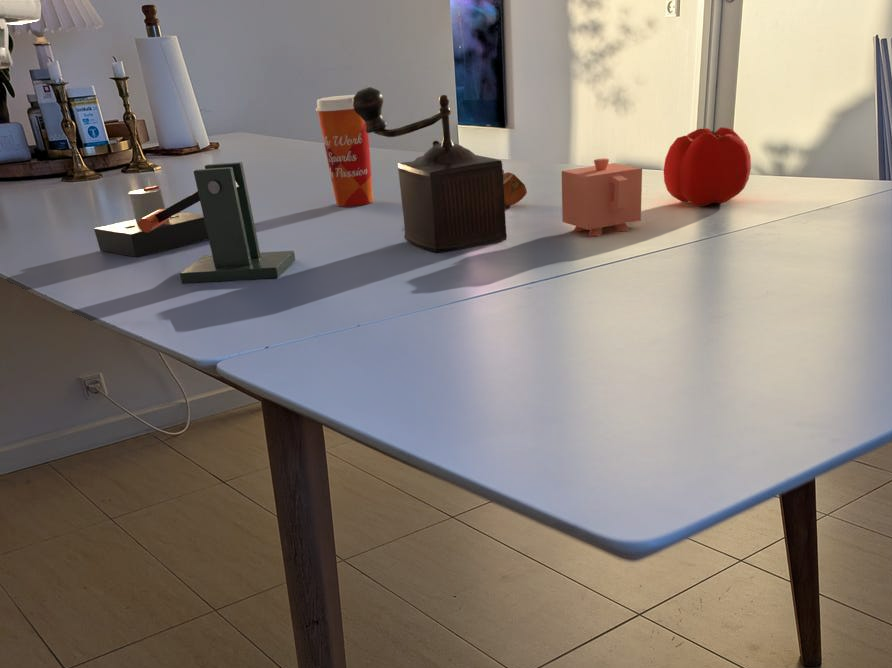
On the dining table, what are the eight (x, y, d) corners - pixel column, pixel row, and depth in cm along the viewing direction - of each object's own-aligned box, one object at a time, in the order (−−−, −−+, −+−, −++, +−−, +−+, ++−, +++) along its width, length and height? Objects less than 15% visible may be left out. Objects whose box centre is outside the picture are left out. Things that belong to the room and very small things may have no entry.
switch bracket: (181, 283, 111) (155, 175, 104) (205, 265, 118) (182, 164, 111) (277, 277, 110) (257, 168, 103) (295, 260, 117) (277, 157, 110)
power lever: (146, 238, 110) (133, 218, 108) (163, 227, 114) (152, 208, 113) (229, 192, 106) (217, 171, 105) (244, 183, 111) (233, 163, 110)
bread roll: (535, 207, 135) (534, 170, 132) (492, 213, 133) (490, 176, 131) (515, 199, 142) (513, 163, 139) (474, 205, 140) (471, 169, 137)
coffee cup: (321, 208, 147) (305, 101, 139) (341, 198, 154) (326, 96, 145) (370, 207, 145) (356, 98, 137) (387, 197, 152) (375, 93, 143)
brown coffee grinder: (470, 227, 126) (459, 75, 116) (509, 240, 118) (500, 77, 108) (366, 246, 121) (345, 88, 111) (398, 260, 113) (378, 91, 102)
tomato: (673, 195, 135) (676, 125, 130) (756, 195, 130) (762, 123, 125) (652, 209, 127) (654, 136, 122) (738, 210, 123) (745, 134, 118)
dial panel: (136, 257, 126) (130, 232, 124) (100, 250, 132) (93, 227, 130) (215, 237, 133) (210, 214, 132) (177, 232, 139) (172, 209, 137)
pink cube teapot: (602, 218, 125) (602, 150, 121) (649, 231, 116) (651, 159, 111) (551, 226, 123) (549, 158, 118) (595, 241, 114) (595, 167, 109)
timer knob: (145, 225, 128) (137, 192, 126) (131, 223, 131) (122, 190, 128) (173, 220, 131) (165, 186, 128) (158, 217, 133) (150, 185, 131)
